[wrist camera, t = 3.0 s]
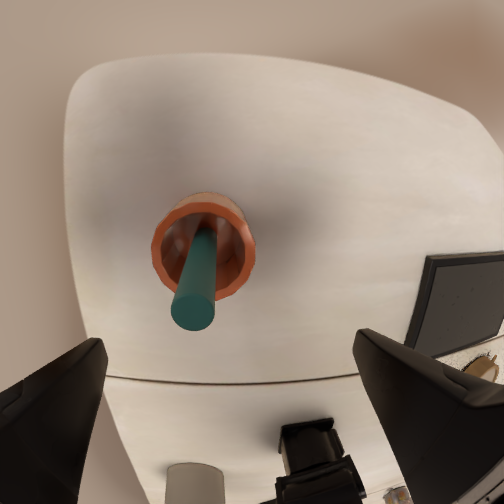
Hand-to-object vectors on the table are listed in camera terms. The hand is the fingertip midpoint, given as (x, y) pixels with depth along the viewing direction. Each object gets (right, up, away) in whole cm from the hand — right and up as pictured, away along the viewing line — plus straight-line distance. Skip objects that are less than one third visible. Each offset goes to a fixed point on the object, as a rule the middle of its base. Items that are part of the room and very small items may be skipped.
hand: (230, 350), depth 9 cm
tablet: (+27, -3, +18) cm, 33 cm away
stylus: (-2, +4, +11) cm, 12 cm away
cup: (-8, -30, +23) cm, 38 cm away
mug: (+38, -60, +38) cm, 80 cm away
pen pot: (-3, +5, +12) cm, 13 cm away
